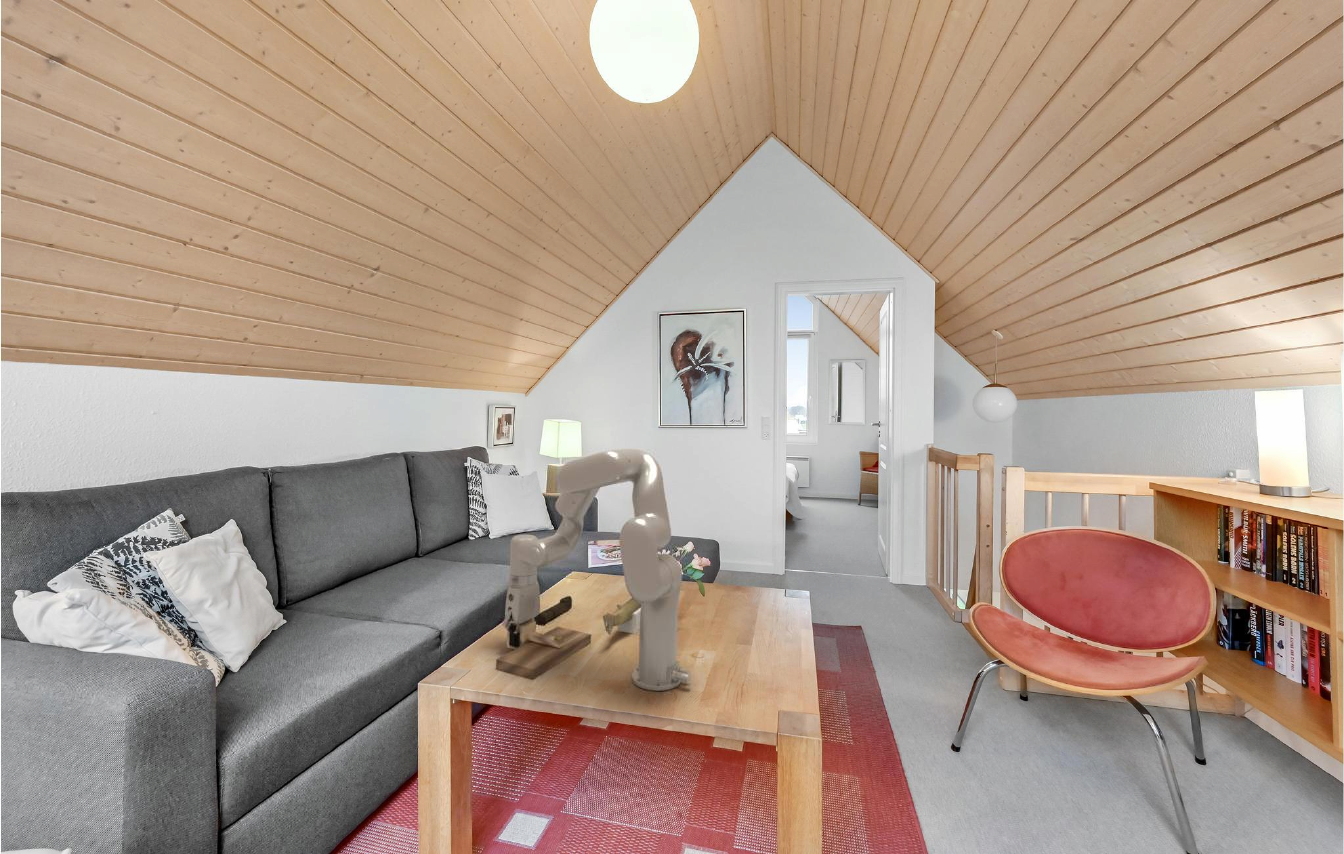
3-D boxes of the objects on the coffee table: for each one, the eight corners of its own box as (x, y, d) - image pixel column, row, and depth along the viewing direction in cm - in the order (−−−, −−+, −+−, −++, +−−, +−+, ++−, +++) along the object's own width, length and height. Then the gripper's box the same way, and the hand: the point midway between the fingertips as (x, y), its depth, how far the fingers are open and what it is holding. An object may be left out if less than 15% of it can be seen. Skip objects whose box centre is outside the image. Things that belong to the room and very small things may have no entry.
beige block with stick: (566, 653, 152) (567, 628, 152) (555, 660, 148) (556, 634, 148) (518, 641, 160) (519, 617, 160) (506, 647, 155) (507, 622, 155)
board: (590, 642, 160) (591, 634, 160) (533, 679, 137) (533, 669, 137) (557, 634, 165) (557, 626, 165) (496, 668, 142) (496, 659, 142)
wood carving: (588, 650, 155) (589, 611, 155) (636, 611, 188) (637, 578, 188) (617, 655, 152) (618, 615, 152) (660, 615, 185) (661, 582, 185)
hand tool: (544, 627, 172) (544, 612, 172) (533, 624, 174) (534, 610, 173) (578, 609, 189) (578, 595, 189) (568, 607, 191) (569, 593, 191)
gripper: (512, 589, 147) (510, 656, 147) (552, 573, 162) (550, 635, 162) (491, 584, 150) (489, 650, 150) (532, 570, 165) (530, 630, 165)
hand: (521, 641), depth 156 cm, fingers closed on beige block with stick, 5 cm apart
